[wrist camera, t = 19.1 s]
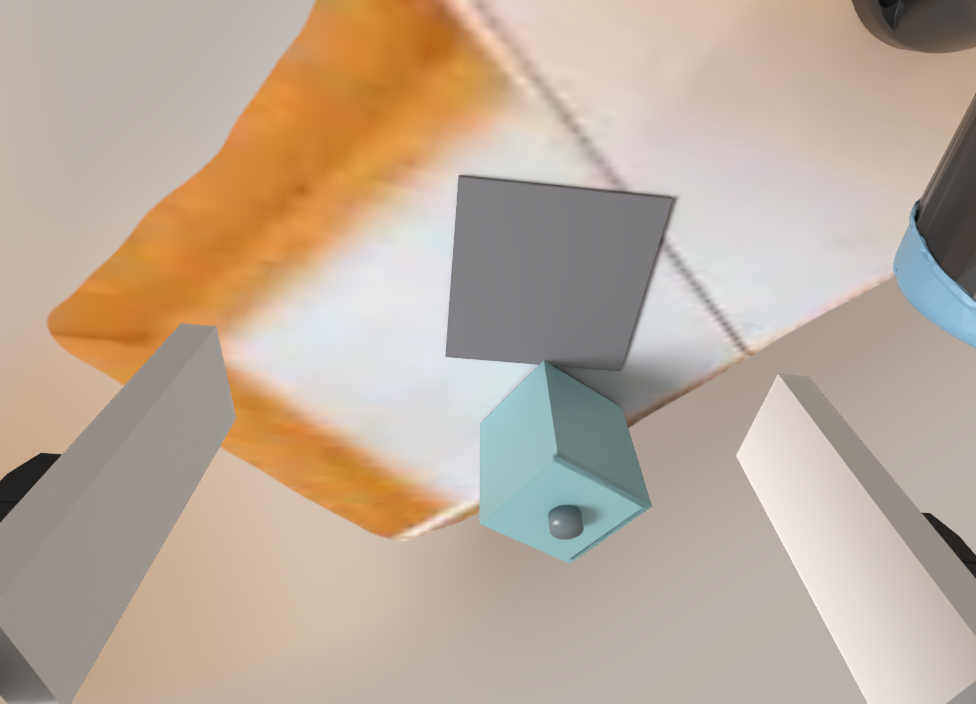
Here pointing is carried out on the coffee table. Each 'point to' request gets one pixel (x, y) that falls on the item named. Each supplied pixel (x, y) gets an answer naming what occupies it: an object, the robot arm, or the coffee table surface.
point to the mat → (549, 272)
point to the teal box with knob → (558, 466)
